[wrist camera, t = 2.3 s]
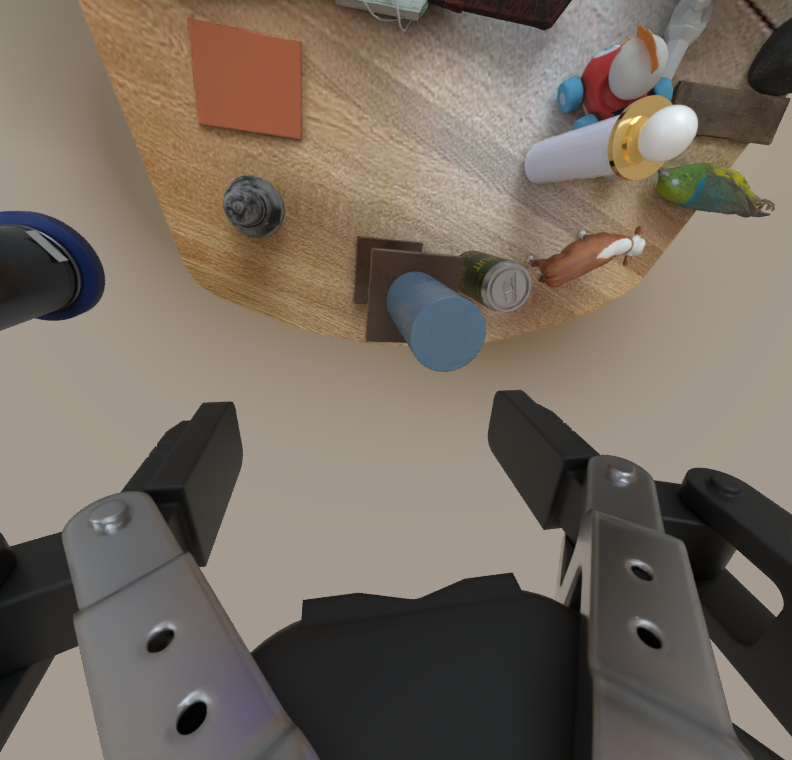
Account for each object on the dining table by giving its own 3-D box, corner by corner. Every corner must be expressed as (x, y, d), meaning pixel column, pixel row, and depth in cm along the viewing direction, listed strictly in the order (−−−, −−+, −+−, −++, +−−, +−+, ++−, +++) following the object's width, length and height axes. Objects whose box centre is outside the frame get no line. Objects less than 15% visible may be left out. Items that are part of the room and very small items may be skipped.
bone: (715, 3, 38) (679, -4, 39) (739, -27, 34) (697, -35, 34) (619, 185, 47) (591, 177, 47) (628, 181, 42) (596, 172, 43)
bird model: (682, 148, 41) (665, 196, 43) (812, 177, 44) (791, 221, 46) (647, 158, 46) (633, 201, 47) (766, 183, 49) (748, 223, 51)
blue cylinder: (383, 326, 32) (406, 371, 23) (389, 269, 30) (415, 294, 21) (436, 329, 33) (477, 372, 24) (445, 273, 31) (493, 299, 22)
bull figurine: (609, 250, 50) (658, 257, 42) (521, 284, 49) (554, 297, 42) (608, 217, 48) (659, 219, 40) (516, 253, 47) (550, 261, 40)
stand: (353, 301, 46) (366, 341, 32) (357, 236, 43) (372, 248, 29) (412, 305, 48) (449, 344, 34) (420, 242, 45) (464, 257, 30)
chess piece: (223, 183, 38) (184, 173, 28) (277, 173, 39) (259, 160, 28) (243, 240, 41) (214, 251, 30) (293, 230, 42) (282, 238, 31)
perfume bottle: (529, 200, 45) (663, 193, 27) (508, 157, 42) (641, 117, 24) (567, 169, 44) (732, 140, 26) (549, 123, 41) (717, 57, 24)
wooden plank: (794, 96, 44) (775, 144, 46) (782, 100, 45) (765, 146, 47) (680, 80, 41) (666, 130, 43) (671, 84, 42) (657, 133, 44)
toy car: (633, 49, 39) (691, -56, 29) (664, 121, 39) (733, 38, 29) (551, 92, 41) (580, 5, 31) (580, 160, 41) (619, 95, 31)
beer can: (490, 283, 49) (536, 303, 38) (453, 297, 48) (490, 321, 38) (482, 244, 46) (529, 253, 35) (444, 258, 46) (480, 272, 35)
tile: (200, 124, 36) (198, 123, 35) (189, 20, 33) (187, 17, 32) (301, 140, 38) (301, 139, 37) (301, 43, 35) (300, 41, 34)
